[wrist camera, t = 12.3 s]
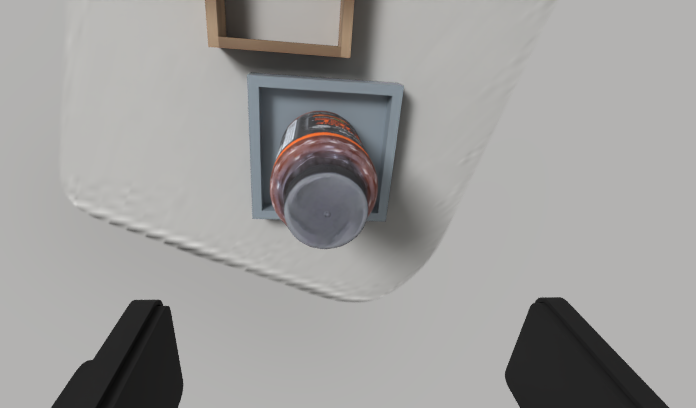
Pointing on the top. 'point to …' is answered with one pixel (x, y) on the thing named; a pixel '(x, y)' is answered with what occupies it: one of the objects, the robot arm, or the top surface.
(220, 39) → the holder
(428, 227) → the top surface
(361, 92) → the tray
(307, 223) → the supplement bottle
